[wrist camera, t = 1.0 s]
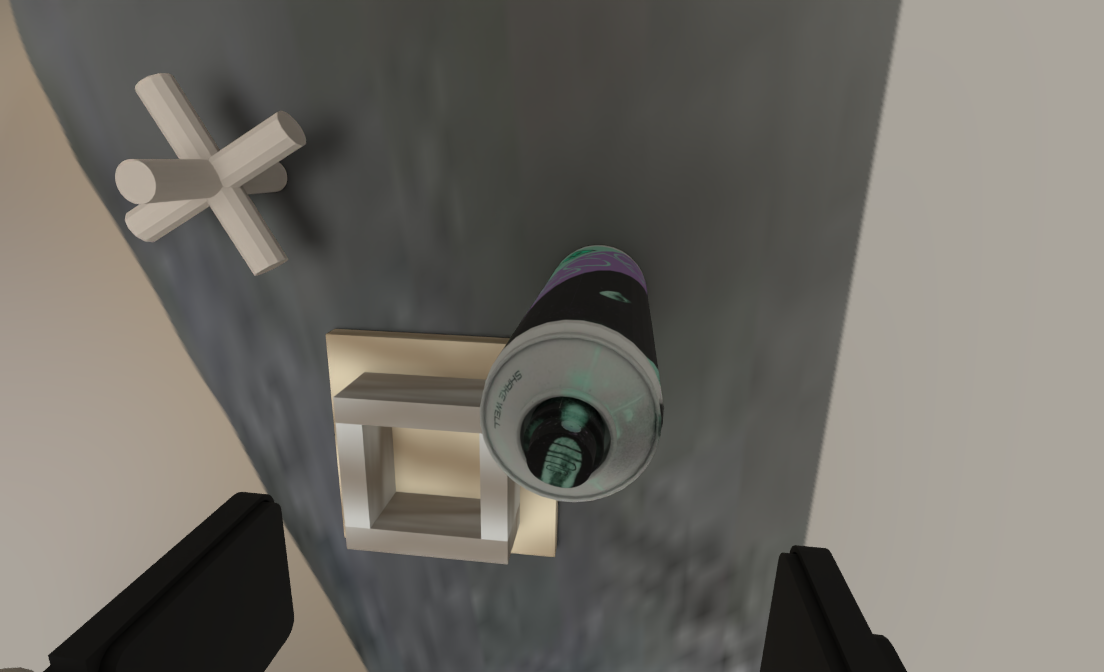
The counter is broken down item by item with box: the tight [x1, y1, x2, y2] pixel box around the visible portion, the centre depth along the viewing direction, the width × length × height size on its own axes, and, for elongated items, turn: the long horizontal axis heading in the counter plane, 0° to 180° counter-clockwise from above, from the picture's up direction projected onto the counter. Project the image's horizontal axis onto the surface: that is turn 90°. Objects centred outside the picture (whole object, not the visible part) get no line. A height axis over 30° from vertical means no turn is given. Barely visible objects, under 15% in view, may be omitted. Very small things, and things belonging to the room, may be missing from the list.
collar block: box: [326, 329, 558, 564], centre depth 35 cm, size 14×14×5 cm
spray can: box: [480, 245, 664, 502], centre depth 24 cm, size 6×6×20 cm
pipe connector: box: [115, 73, 306, 276], centre depth 29 cm, size 10×10×10 cm
